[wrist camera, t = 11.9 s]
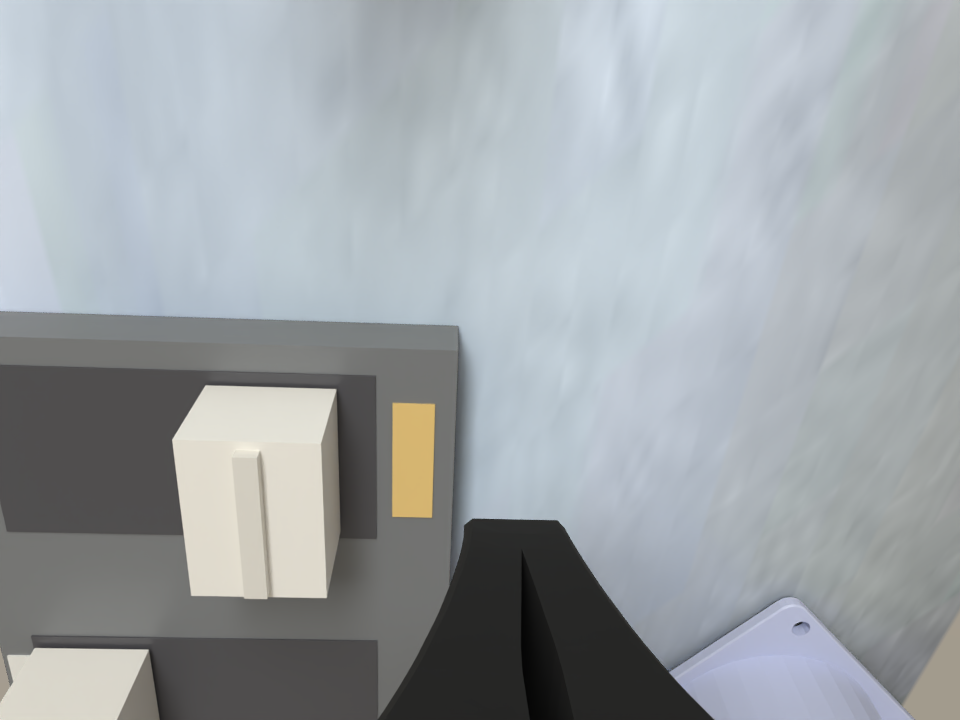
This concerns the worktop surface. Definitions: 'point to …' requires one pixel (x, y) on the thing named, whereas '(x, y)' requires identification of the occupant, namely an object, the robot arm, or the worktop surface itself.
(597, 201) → the worktop surface
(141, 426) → the switch plate
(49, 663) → the middle tab
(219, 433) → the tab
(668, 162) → the worktop surface
